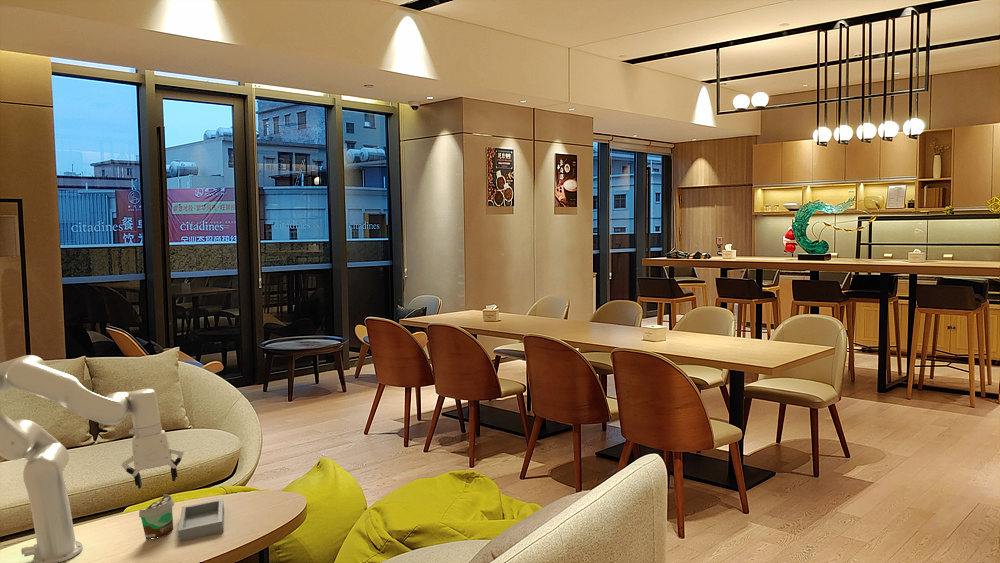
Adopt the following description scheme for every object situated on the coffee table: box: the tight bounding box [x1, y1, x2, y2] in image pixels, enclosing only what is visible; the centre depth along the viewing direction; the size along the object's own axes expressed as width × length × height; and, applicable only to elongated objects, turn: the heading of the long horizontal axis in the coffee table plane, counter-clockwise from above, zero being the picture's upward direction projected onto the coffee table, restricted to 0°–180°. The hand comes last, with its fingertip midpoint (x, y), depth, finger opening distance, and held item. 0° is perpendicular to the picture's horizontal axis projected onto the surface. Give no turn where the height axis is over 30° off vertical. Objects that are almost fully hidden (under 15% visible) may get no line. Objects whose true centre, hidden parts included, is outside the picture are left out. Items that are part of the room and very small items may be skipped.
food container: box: [138, 494, 175, 540], centre depth 227 cm, size 12×6×10 cm, turn 168°
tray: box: [177, 498, 225, 543], centre depth 231 cm, size 12×18×4 cm
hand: (157, 483), depth 226 cm, fingers open, 9 cm apart
